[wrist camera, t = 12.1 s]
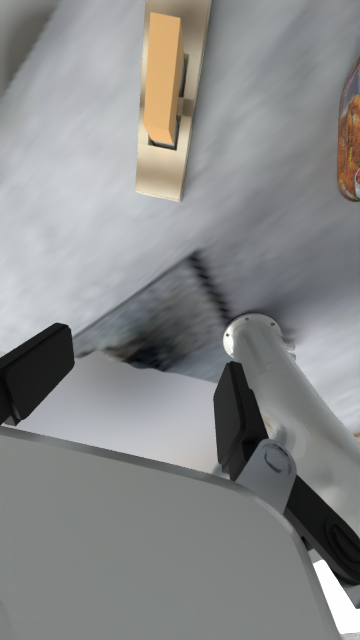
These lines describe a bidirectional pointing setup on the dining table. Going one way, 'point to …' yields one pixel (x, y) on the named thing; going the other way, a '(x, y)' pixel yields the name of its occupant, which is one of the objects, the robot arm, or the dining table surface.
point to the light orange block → (164, 79)
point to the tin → (350, 138)
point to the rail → (164, 164)
